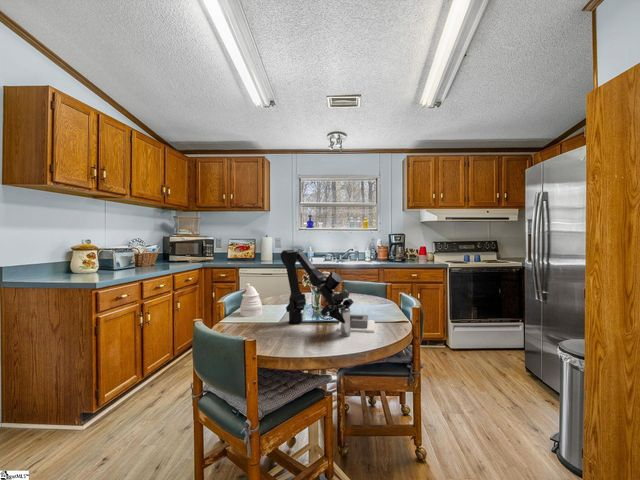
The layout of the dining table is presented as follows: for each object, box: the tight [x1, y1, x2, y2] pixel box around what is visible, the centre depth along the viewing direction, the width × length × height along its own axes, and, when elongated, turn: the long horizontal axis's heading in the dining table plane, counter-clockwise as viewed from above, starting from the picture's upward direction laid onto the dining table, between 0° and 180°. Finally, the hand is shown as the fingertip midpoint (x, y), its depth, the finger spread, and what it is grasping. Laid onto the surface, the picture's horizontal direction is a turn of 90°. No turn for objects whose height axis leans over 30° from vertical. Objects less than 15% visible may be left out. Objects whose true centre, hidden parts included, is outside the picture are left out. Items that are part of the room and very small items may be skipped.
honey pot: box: [239, 283, 263, 318], centre depth 195 cm, size 13×13×18 cm
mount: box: [336, 313, 376, 333], centre depth 166 cm, size 18×18×4 cm
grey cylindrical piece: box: [339, 307, 351, 338], centre depth 152 cm, size 4×4×12 cm
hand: (347, 321), depth 151 cm, fingers closed on grey cylindrical piece, 4 cm apart
